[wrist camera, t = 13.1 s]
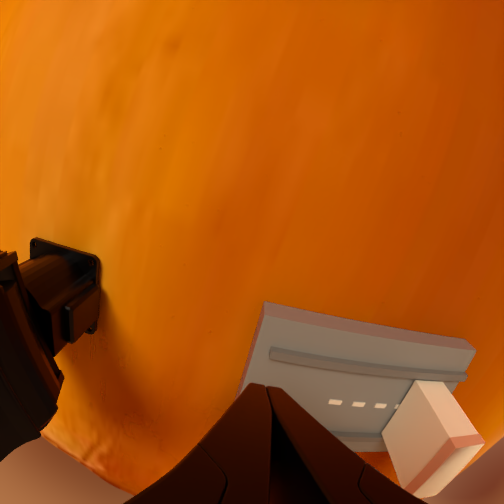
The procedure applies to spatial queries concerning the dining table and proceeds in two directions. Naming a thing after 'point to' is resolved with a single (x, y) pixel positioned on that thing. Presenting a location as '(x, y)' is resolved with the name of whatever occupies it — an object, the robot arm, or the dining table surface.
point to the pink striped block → (429, 439)
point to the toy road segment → (348, 368)
